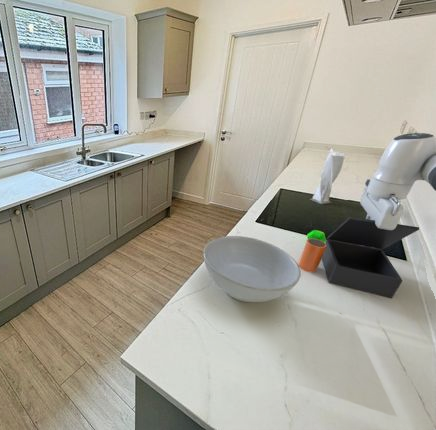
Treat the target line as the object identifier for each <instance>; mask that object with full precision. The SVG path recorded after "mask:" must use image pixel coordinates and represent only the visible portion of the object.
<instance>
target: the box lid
mask: <svg viewBox="0 0 436 430" xmlns="http://www.w3.org/2000/svg"><path fill="white" fill-rule="evenodd" d="M419 230H420V227H419V226H415V225H414V226H412V225H406V224H401V223H398V224H397V226H396V228H395V229H393V230H386V229H380V228H378V227H377V226H376V225H375V220H368V219H366V218H362V217H356V216H355V217H354V216H349V217H348V218H347V219H345V220H344V221H343V222H342V223H341V224H340V225H339V226H338V227H337V228H335V229H334V230H333V231H332V232H331V233H330V234H329V235H328V236H327V238H326V240H327V239H329V240H334V241H339V242H345V243H350V244H355V245H362V246H368V247H373V248H377V249H382V250H384V249H386V248H388V247H390V246H392V245H394V244H395V243H398V242H399V241H401V240H403V239H404V238H407V237H408V236H410V235H412V234H414V233H416V232H418V231H419Z"/></svg>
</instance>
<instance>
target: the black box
mask: <svg viewBox="0 0 436 430" xmlns="http://www.w3.org/2000/svg"><path fill="white" fill-rule="evenodd" d="M324 243H326V245H327V247H326V249H325V251H324V254H323V256H322V259H321V261H322V266H323V269H324V272H325V275H326V278H327V279H326V280H327V282H328V284H331V285H335V286H339V287H343V288H346V289H347V288H348V289H351V290H355V291H360V292H363V293H368V294H372V295H376V296H379V297H384V298H388V299H393V298H394V296H395V294H396V292H397V291H398V289H399V288H400V286H401V284H402V283H403V278H402V276H400V274H399V273H398V270H397V269H396V267H394V265H393V263H392V262H391V260H390V259H389V258H388V256H387V254H386V253H385V252H384V249H378V248H371V247H366V246H361V245H357V244H352V243H346V242H341V241H336V240H330V239H327V238H326V242H324Z"/></svg>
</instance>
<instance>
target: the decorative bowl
mask: <svg viewBox="0 0 436 430" xmlns="http://www.w3.org/2000/svg"><path fill="white" fill-rule="evenodd" d="M203 261H204V265H205V268H206V271H207V273H208V275H209V276H210V278H211V280H212V281H213V282H214V283H215V285H216V286H217V287H218V288H219V289H221V290H222V291H223V292H224V293H226V295H228V296H229V297H231V298H232V299H234V300H237V301H240V302H243V303H261V302H269V301H272V300H275V299H278V298H280V297H282V296H284V295H285V294H287V293H289V292H290V291H291V290H293V288H294V287H295V286H296V285H297V284H298V283H299V281H300V279H301V276H302V273H301V268H300V267H299V266H298V262H297V261H296V260H295V259H294V258H293V257H292V256H291V255H290V254H289V253H288V252H287V251H285V250H283V249H281V248H280V247H278V246H276V245H275V244H272V243H269V242H267V241H264V240H262V239H258V238H254V237H248V236H241V235H227V236H220V237H217V238H214V239H212V240H209V242H207V244H206V245H205V246H204V248H203Z"/></svg>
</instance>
